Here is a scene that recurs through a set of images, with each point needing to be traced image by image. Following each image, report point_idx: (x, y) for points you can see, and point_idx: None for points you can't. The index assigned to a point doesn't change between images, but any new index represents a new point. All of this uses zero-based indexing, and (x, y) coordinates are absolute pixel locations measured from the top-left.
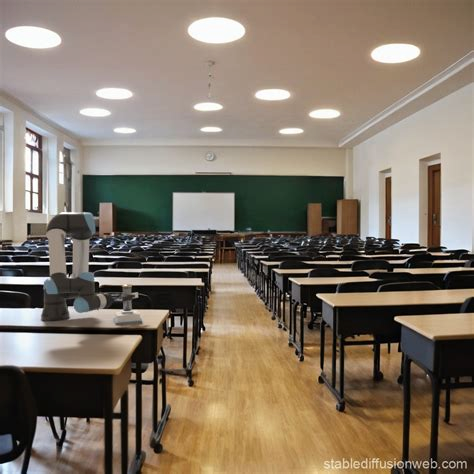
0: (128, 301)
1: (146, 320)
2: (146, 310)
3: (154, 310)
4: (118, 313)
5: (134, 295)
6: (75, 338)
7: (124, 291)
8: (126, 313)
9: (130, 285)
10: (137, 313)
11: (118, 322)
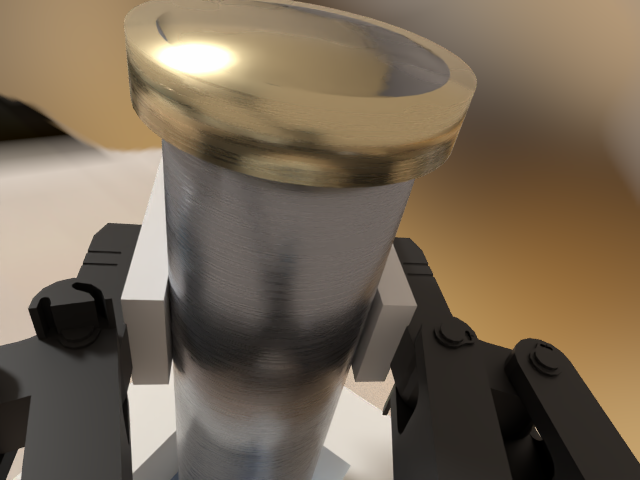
0: (333, 411)
1: (367, 389)
2: (99, 169)
3: (158, 160)
4: None
5: (420, 264)
6: None
7: (308, 291)
8: (170, 447)
9: (459, 65)
10: (385, 438)
11: None
